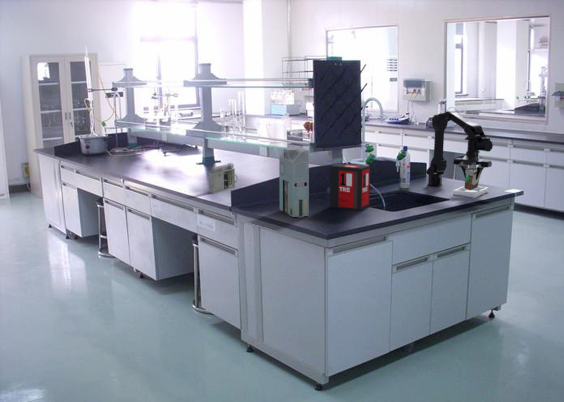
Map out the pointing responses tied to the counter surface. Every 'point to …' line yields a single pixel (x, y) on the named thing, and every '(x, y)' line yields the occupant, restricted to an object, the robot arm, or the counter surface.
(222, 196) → the counter surface
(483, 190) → the tray
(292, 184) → the device
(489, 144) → the robot arm
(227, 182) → the geiger counter
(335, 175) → the cleaning product box
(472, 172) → the food container
